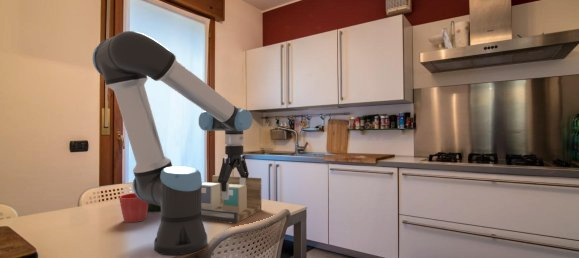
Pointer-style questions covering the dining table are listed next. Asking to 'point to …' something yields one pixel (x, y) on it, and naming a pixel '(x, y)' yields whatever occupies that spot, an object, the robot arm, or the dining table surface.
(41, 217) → the dining table surface
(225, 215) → the shelf
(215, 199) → the cream box
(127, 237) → the dining table surface
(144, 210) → the flower pot
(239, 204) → the tea box
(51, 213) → the dining table surface
